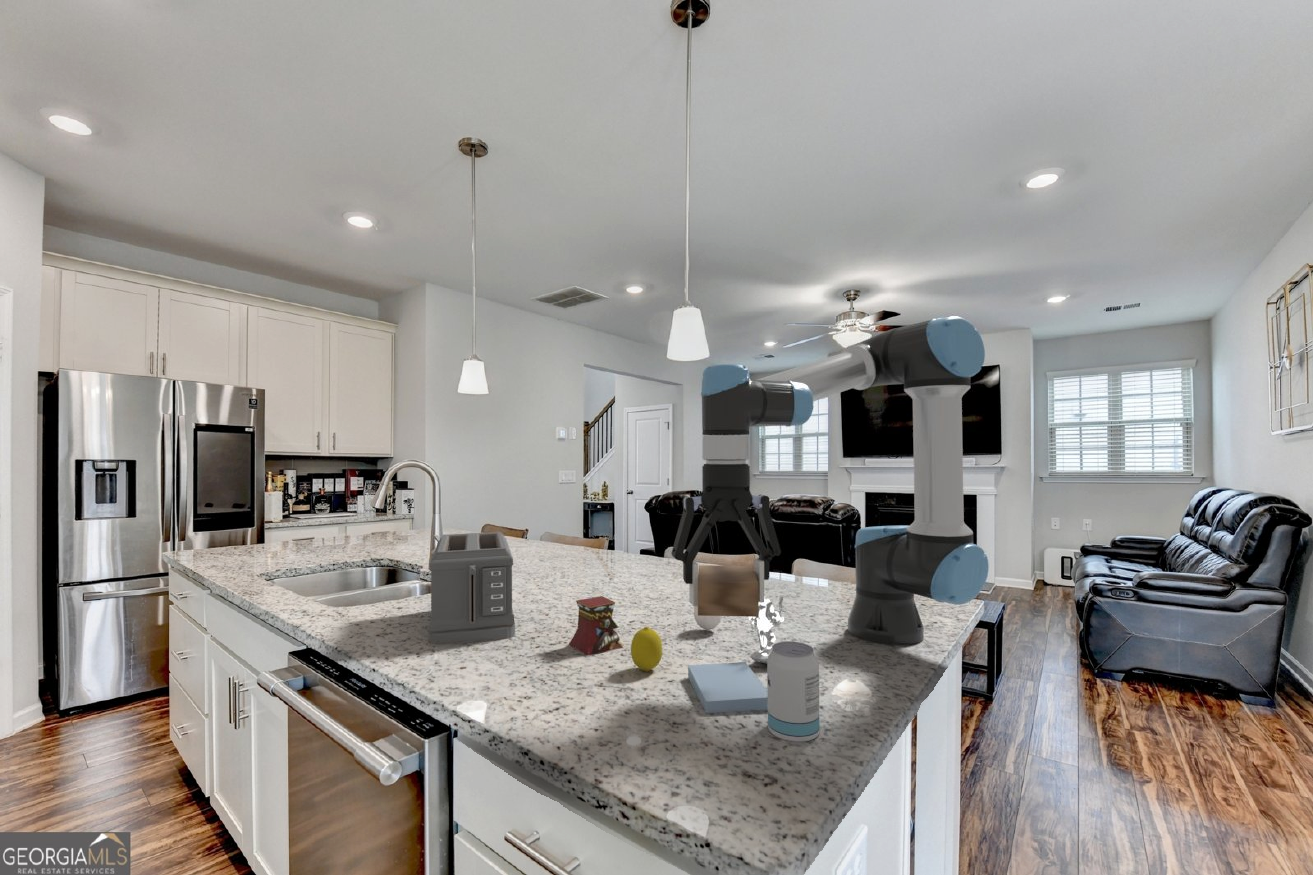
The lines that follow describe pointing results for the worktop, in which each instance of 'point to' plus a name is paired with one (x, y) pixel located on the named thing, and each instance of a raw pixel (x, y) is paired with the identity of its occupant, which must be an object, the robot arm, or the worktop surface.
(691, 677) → the base brick
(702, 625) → the egg
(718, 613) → the walnut brick
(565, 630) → the worktop surface
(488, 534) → the toaster
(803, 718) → the beverage can
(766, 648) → the figurine
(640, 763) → the worktop surface
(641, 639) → the lemon
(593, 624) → the tiki totem
